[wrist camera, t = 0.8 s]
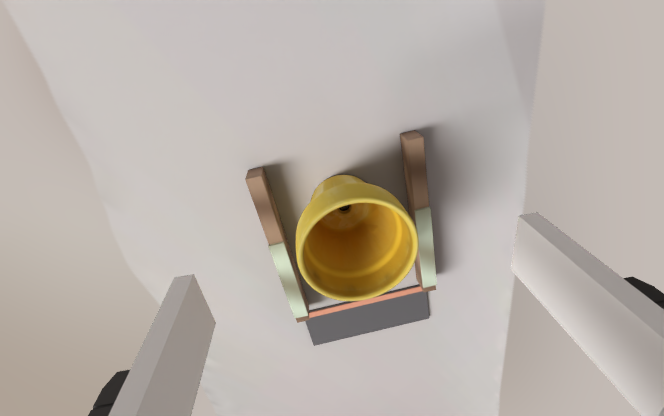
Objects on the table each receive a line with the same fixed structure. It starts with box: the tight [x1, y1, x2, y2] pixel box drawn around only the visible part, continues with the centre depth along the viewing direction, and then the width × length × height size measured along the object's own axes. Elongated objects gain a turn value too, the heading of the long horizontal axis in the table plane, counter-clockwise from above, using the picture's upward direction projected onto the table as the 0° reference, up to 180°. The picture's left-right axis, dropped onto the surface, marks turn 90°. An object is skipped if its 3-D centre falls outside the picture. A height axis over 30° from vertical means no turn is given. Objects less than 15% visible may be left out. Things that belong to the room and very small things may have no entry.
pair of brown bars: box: [245, 130, 437, 323], centre depth 36 cm, size 19×17×3 cm
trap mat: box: [306, 285, 429, 346], centre depth 44 cm, size 6×16×1 cm, turn 102°
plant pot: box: [296, 175, 419, 301], centre depth 32 cm, size 10×10×10 cm
